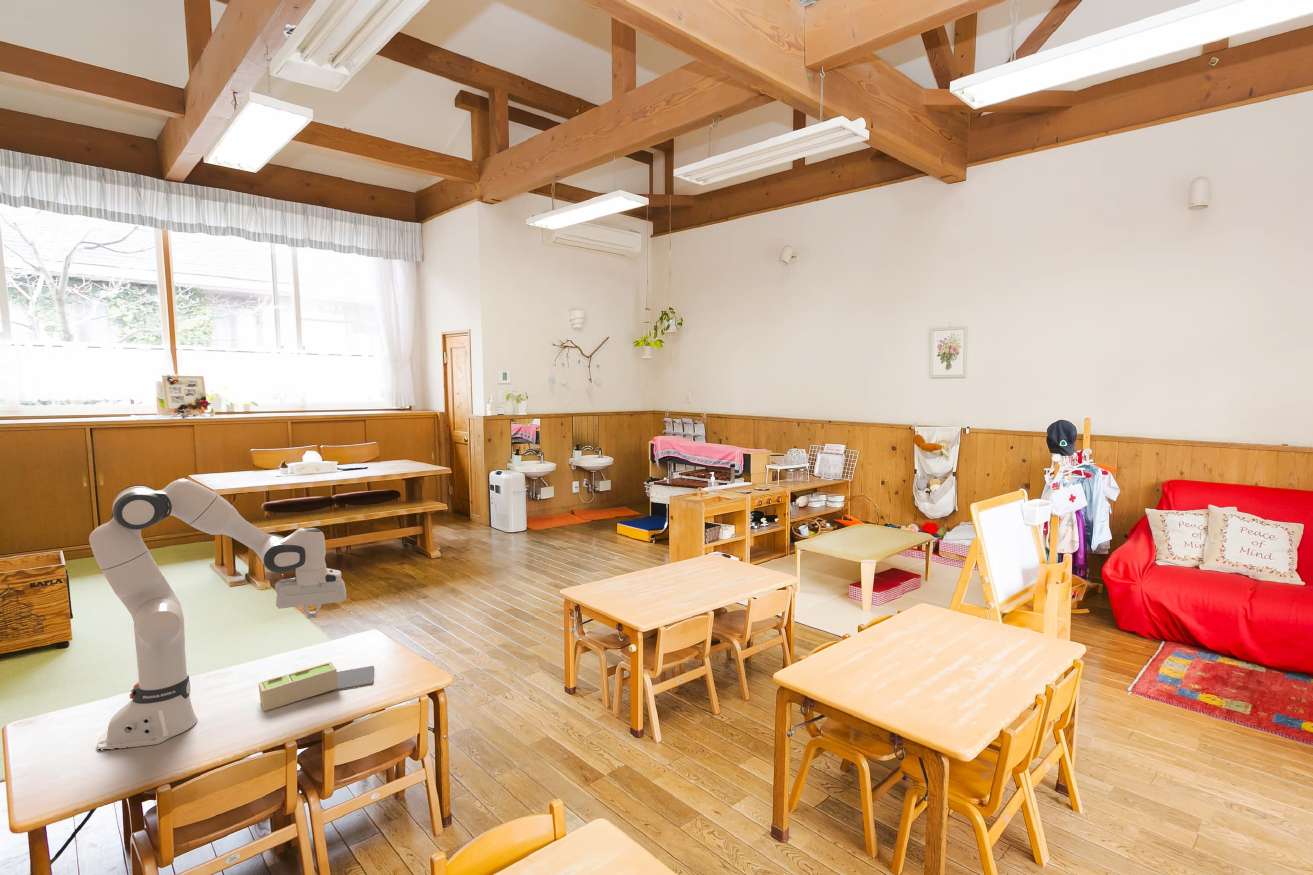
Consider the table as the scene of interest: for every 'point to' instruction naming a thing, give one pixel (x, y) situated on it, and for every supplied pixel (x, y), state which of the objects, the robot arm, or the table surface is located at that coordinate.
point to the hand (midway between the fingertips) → (312, 617)
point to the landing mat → (354, 678)
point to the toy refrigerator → (297, 686)
